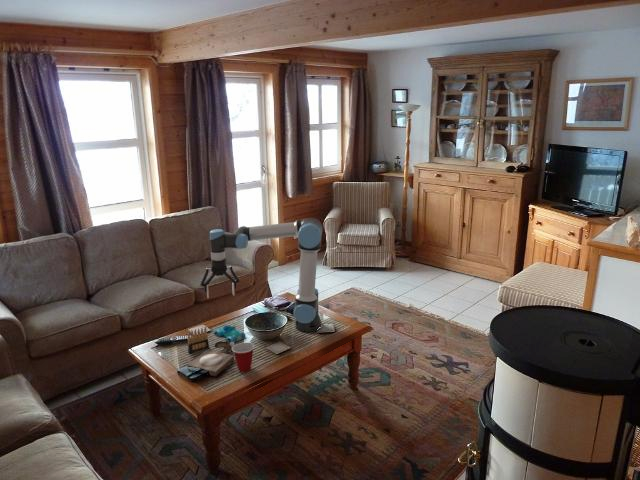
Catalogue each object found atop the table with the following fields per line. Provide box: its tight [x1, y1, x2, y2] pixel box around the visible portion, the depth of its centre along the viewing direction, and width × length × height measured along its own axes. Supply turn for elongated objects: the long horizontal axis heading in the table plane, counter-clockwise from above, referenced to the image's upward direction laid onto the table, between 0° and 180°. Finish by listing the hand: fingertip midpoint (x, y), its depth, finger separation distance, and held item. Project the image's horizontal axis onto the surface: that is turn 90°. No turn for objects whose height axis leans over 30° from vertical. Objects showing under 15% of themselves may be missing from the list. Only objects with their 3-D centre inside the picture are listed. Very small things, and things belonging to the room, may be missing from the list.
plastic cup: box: [231, 342, 255, 373], centre depth 229 cm, size 11×11×12 cm
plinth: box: [187, 349, 235, 377], centre depth 235 cm, size 16×16×3 cm
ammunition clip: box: [187, 326, 210, 354], centre depth 248 cm, size 11×2×12 cm, turn 123°
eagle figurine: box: [213, 339, 236, 354], centre depth 246 cm, size 8×7×9 cm
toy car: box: [213, 325, 246, 343], centre depth 264 cm, size 11×18×7 cm, turn 48°
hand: (221, 296), depth 259 cm, fingers open, 13 cm apart
